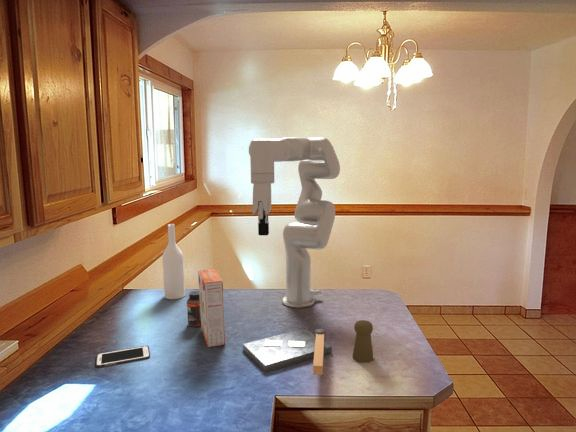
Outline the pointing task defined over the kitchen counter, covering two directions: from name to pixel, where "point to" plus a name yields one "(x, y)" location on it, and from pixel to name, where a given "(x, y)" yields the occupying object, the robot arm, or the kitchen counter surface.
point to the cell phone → (122, 356)
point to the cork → (363, 342)
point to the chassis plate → (283, 349)
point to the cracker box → (211, 307)
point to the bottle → (173, 268)
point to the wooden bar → (319, 351)
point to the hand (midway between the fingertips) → (263, 234)
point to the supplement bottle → (194, 309)
